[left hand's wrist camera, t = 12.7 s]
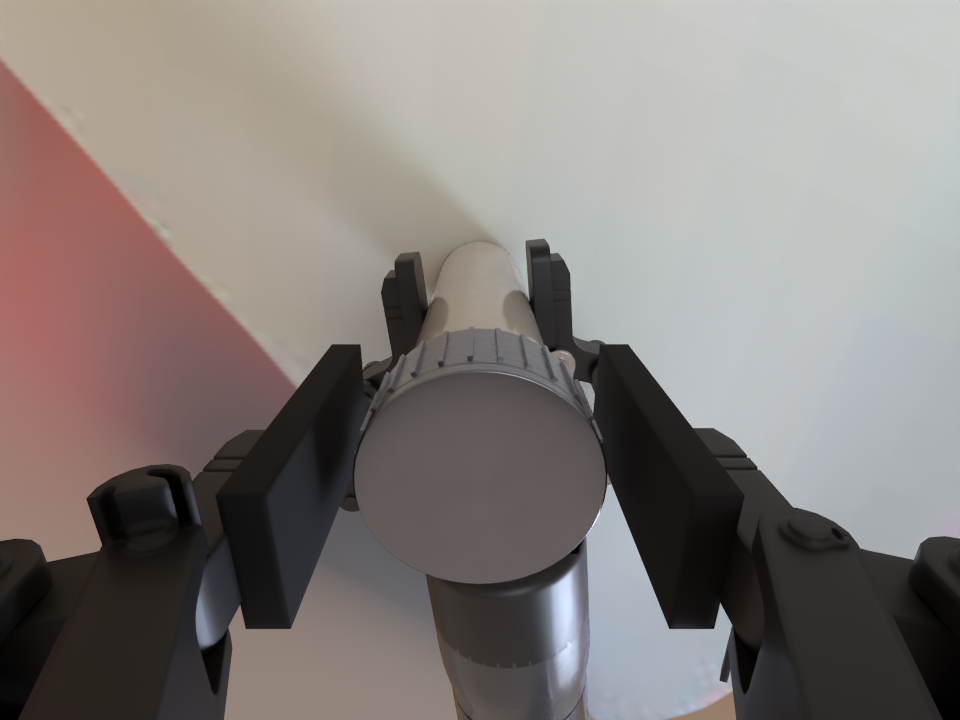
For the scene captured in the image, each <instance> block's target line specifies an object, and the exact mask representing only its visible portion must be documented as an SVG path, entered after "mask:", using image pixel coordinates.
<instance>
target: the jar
mask: <svg viewBox="0 0 960 720" xmlns="http://www.w3.org/2000/svg"><path fill="white" fill-rule="evenodd" d="M473 326H474V329H478V328H482V329H495V328H496V327H497V328H500V330H501V331H506V332H511V333H514V334H517V335H520V334H521V333H522V334H524V335H525V336H526V338H527V339H529V340H531V341H534V342H536V343H537V344H539V345H540V346H543V345H544V344H543V341H542V338H541V335H540V332H539V329H538V326H537V323H536V320H535V317H534V314H533V311H532V308H531V305H530V302H529V299H528V296H527V293H526V290H525V287H524V284H523V281H522V278H521V275H520V272H519V269H518V266H517V264H516V262H515V260H514V259H513V257H512V256H511V255H510V254H509V253H508V252H507V251H506V250H504V249H503V248H502V247H500V246H498V245H496V244H493V243H489V242H482V241H477V242H470V243H467V244H464V245H462V246H460V247H458V248H457V249H455V250H454V251H453V252H452V253H451V254H450V255H449V256H448V257H447V259H446V260H445V262H444V264H443V266H442V268H441V271H440V274H439V277H438V280H437V284H436V287H435V290H434V293H433V296H432V299H431V302H430V305H429V308H428V311H427V314H426V317H425V320H424V323H423V326H422V329H421V332H420V335H419V338H418V341H417V344H416V347H418V346H419V344H420V342H421V341H423V340H424V341H425V342H426V341H428V340H431V339H433V338H435V337H437V336H440V335H443V332H444V331H448V332H453V331H459V330H464V329H469V327H473ZM416 347H415V348H416Z"/></svg>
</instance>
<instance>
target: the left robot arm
mask: <svg viewBox="0 0 960 720" xmlns="http://www.w3.org/2000/svg"><path fill="white" fill-rule="evenodd" d="M366 415H367V412H366V401H365V390H364V380H363V369H362V358H361V347H360V344H332V345H331V346H330V348H329V349H328V350H327V352H326V353H325V354H324V356H323V357H322V358H321V359H320V361H319V362H318V363H317V365H316V366H315V367H314V368H313V370H312V371H311V372H310V374H309V375H308V376H307V377H306V379H305V380H304V381H303V383H302V384H301V385H300V386H299V388H298V389H297V390H296V392H295V393H294V394H293V396H292V397H291V398H290V399H289V401H288V402H287V403H286V405H285V406H284V407H283V408H282V410H281V411H280V412H279V414H278V415H277V416H276V417H275V419H274V420H273V421H272V423H271V424H270V425H269V427H268V428H267V429H266V430H246V431H244V432H243V433H241V434H240V435H238V436H236V437H234V438H233V439H231V440H230V441H228V442H226V444H225V445H224V446H223V447H222V448H221V449H220V450H219V451H218V453H217V454H216V455H215V456H214V459H213V460H211V461H210V462H209V463H208V464H207V465H206V466H205V467H204V469H203V472H200V473H199V474H198V475H197V477H196V478H195V479H194V480H193V481H192V480H191V475H190V472H189V471H187V470H186V469H185V468H183V467H181V466H176V465H170V464H163V465H150V466H146V467H142V468H138V469H134V470H130V471H128V472H125V473H123V474H120V475H118V476H116V477H113V478H111V479H110V480H108V481H106V482H105V483H103V484H102V485H100V486H99V487H97V488H96V489H95V490H94V491H93V492H92V493H91V494H90V495H89V496H88V497H87V502H88V505H89V508H90V511H91V514H92V516H93V519H94V522H95V525H96V528H97V531H98V534H99V537H100V539H101V543H102V547H101V549H100V551H98V552H94V553H89V554H85V555H80V556H75V557H71V558H66V559H61V560H56V561H51V562H47V561H46V559H45V556H44V554H43V551H42V549H41V546H40V545H38V544H37V543H35V542H34V541H32V540H26V539H12V540H5V541H0V720H224V713H225V705H226V696H227V688H228V679H229V671H230V663H231V655H232V643H231V636H230V633H229V628H228V626H229V624H230V622H231V620H232V619H233V617H234V615H235V613H236V611H237V609H238V607H239V605H241V609H242V614H243V618H244V622H245V627H246V629H291V627H292V624H293V622H294V619H295V617H296V614H297V612H298V609H299V606H300V604H301V601H302V599H303V596H304V594H305V591H306V589H307V586H308V584H309V581H310V579H311V576H312V574H313V571H314V569H315V566H316V564H317V561H318V559H319V556H320V554H321V551H322V549H323V546H324V544H325V541H326V539H327V536H328V534H329V531H330V529H331V526H332V524H333V521H334V519H335V516H336V514H337V511H338V509H339V506H340V504H341V501H342V499H343V496H344V494H345V491H346V489H347V486H348V484H349V481H350V478H351V476H352V473H353V465H354V453H355V451H356V449H357V446H358V444H359V441H360V439H361V437H362V435H360V434H359V431H360V428H361V426H362V424H363V421H364V419H365V417H366ZM593 415H594V417H595V421H596V424H597V426H598V428H599V431H600V433H601V435H602V438H603V441H604V443H601V444H602V447H603V451H604V454H605V458H606V465H607V473H608V476H609V479H610V481H611V484H612V486H613V489H614V491H615V494H616V496H617V499H618V501H619V504H620V506H621V509H622V511H623V514H624V516H625V519H626V521H627V524H628V526H629V529H630V531H631V534H632V536H633V539H634V541H635V544H636V546H637V549H638V551H639V554H640V556H641V559H642V561H643V564H644V566H645V569H646V571H647V574H648V576H649V579H650V581H651V584H652V586H653V589H654V591H655V594H656V596H657V599H658V601H659V604H660V607H661V609H662V612H663V614H664V617H665V619H666V622H667V624H668V627H669V629H714V627H715V622H716V618H717V614H718V610H719V605H720V603H721V605H722V606H723V608H724V610H725V612H726V614H727V616H728V618H729V620H730V621H731V623H732V628H731V632H730V636H729V640H728V645H727V649H726V653H725V657H724V661H723V665H722V669H721V675H720V681H722V682H726V683H727V681H728V677H729V673H730V671H731V678H732V686H733V695H734V703H735V711H736V720H960V539H958V538H952V537H946V536H943V537H931V538H928V539H926V540H925V541H923V542H922V543H921V544H920V546H919V549H918V551H917V554H916V556H915V559H914V560H911V559H906V558H901V557H896V556H892V555H887V554H882V553H877V552H872V551H867V550H864V549H860V548H859V546H858V544H857V543H856V541H855V540H854V539H853V538H852V536H851V535H850V534H849V532H847V531H846V530H844V529H843V528H842V527H840V526H839V525H838V524H836V523H835V522H833V521H831V520H829V519H827V518H825V517H823V516H821V515H819V514H816V513H813V512H810V511H806V510H803V509H799V508H793V507H792V506H791V505H790V503H789V502H788V501H787V500H786V499H785V498H784V497H783V496H782V494H781V493H780V492H779V491H778V490H777V489H776V488H775V487H774V485H773V484H772V483H771V482H770V481H769V480H768V479H767V477H766V476H765V475H764V474H763V473H762V472H761V471H760V470H758V469H757V466H756V465H755V464H754V463H753V462H752V461H751V459H750V458H747V455H746V454H745V453H744V451H743V450H742V449H741V448H740V447H739V446H738V445H737V444H736V442H735V441H734V440H732V439H730V438H729V437H727V436H725V435H724V434H722V433H720V432H719V431H717V430H715V429H714V428H692V427H691V425H690V424H689V423H688V421H687V420H686V419H685V417H684V416H683V415H682V414H681V412H680V411H679V410H678V408H677V407H676V406H675V405H674V403H673V402H672V401H671V399H670V398H669V397H668V396H667V394H666V393H665V392H664V390H663V389H662V388H661V387H660V385H659V384H658V383H657V381H656V380H655V379H654V377H653V376H652V375H651V374H650V372H649V371H648V370H647V368H646V367H645V366H644V365H643V363H642V362H641V361H640V359H639V358H638V357H637V356H636V354H635V353H634V352H633V350H632V349H631V348H630V346H629V345H628V344H600V347H599V358H598V369H597V379H596V390H595V401H594V412H593Z"/></svg>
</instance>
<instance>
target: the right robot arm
mask: <svg viewBox="0 0 960 720" xmlns="http://www.w3.org/2000/svg"><path fill="white" fill-rule="evenodd" d="M526 259H527V273H528V287H529V301H530V305H531V308H532V311H533V314H534V317H535V320H536V323H537V326H538V329H539V332H540V335H541V338H542V341H543V344H544V345H546V346H547V347H548V349H549V352H550V353H552V354H553V355H554V356H555V357H556V358H557V359H559V361H560V362H561V361H562V360H564V361H565V363H566V365H567V367H568V369H569V372H570V374H571V376H572V377H573V379H575V380H576V379H578V380H579V381H584V382H588V383H591V385H592V387H593V390H594V393H595V390H596V379H597V369H598V358H599V347H600V344H605V343H604V342H602V341H599V340H592V341H589V342H588V341H584V340H580V339H577V338H575V337H574V336H573V335H572V312H571V290H570V288H571V287H570V273H569V270H568V268H567V266H566V264H565V262H564V260H563V259H562V257H561V256H560V255H559V254H558V253H554V254H550V248H549V245H548V243H547V242H546V240H545V239H537V240H528V241H526ZM381 295H382V300H383V306H384V311H385V317H386V322H387V328H388V333H389V338H390V344H391V349H392V356H391V357H389V358H387V359H385V360H383V361H381V362H379V361H373V362H370V363H368V364H367V365H366V366H365V367H364V369H363V380H364V390H365V401H366V412H368V410H369V408H370V405H371V403H372V401H373V398H374V396H375V394H376V392H378V390H379V388H380V385H381V383H382V381H383V378H384V376H385V374H386V373H387V372H389V373H391V371H392V370H393V368H394V367H395V366H396V365H397V364H398V361H399V358H400V356H401V355H403V354H404V355H405V356H406V355H407V354H408V353H409V352H411V351H412V350H413V349H415V347H416V344H417V341H418V338H419V335H420V332H421V329H422V326H423V323H424V320H425V317H426V314H427V311H428V302H427V295H426V288H425V282H424V275H423V268H422V262H421V257H420V253H419V252H412V253H403V254H400V255H399V256H398V258H397V259H396V260H395V270H390V272H389V273H388V274H387V276H386V277H385V278H384V282H383V287H382V291H381ZM609 484H611V481H610V479H609V476H608V473H607V485H609ZM340 507H341V508H343V509H344V510H347V511H352V512H353V511H358V510H359V508H358V505H357V502H356V499H355V494H354V489H353V473H352V476H351V478H350V481H349V484H348V486H347V489H346V491H345V494H344V496H343V499H342V501H341V504H340ZM426 578H427V584H428V589H429V594H430V599H431V604H432V610H433V615H434V620H435V626H436V631H437V637H438V642H439V647H440V651H441V656H442V660H443V664H444V667H445V669H446V672H447V675H448V677H449V680H450V682H451V684H452V688H453V694H454V700H455V705H456V711H457V716H458V720H590V718H589V715H588V711H587V709H588V705H587V681H586V668H587V662H588V656H589V646H590V629H589V599H588V573H587V545H586V537H585V538H584V539H583V540H582V541H581V542H580V543H579V544H578V545H577V547H576V548H575V549H573V550H572V551H571V552H570V553H569V554H567V555H566V556H565V557H564V558H562V559H561V560H559V561H558V562H556V563H555V564H553V565H551V566H549V567H547V568H545V569H543V570H541V571H539V572H537V573H534V574H532V575H529V576H526V577H523V578H519V579H515V580H512V581H506V582H500V583H489V584H471V583H460V582H454V581H448V580H444V579H441V578H437V577H434V576H431V575H428V574H426Z"/></svg>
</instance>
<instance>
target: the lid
mask: <svg viewBox="0 0 960 720" xmlns="http://www.w3.org/2000/svg"><path fill="white" fill-rule="evenodd" d="M359 434H360V435H362V437H361V439H360V441H359V444H358V446H357V449H356V451H355V453H354V465H353V489H354V494H355V499H356V502H357V505H358V508H359V511H360V514H361V516H362V518H363V520H364V522H365V523H366V525H367V527H368V528H369V530H370V531H371V532H372V534H373V535H374V537H375V538H376V539H377V540H378V541H379V542H380V543H381V545H382V546H383V547H384V548H385V549H387V550H388V551H389V552H390V553H391V554H393V555H394V556H395V557H396V558H398V559H399V560H401V561H402V562H404V563H405V564H407V565H409V566H411V567H413V568H415V569H416V570H418V571H420V572H423V573H426V574H428V575H431V576H434V577H437V578H441V579H444V580H448V581H454V582H460V583H471V584H489V583H500V582H506V581H512V580H515V579H519V578H523V577H526V576H529V575H532V574H534V573H537V572H539V571H541V570H543V569H545V568H547V567H549V566H551V565H553V564H555V563H556V562H558V561H559V560H561V559H562V558H564V557H565V556H566V555H567V554H569V553H570V552H571V551H572V550H573V549H575V548H576V547H577V545H578V544H579V543H580V542H581V541H582V540H583V539H584V538H585V537H586V535H587V534H588V532H589V531H590V530H591V528H592V527H593V525H594V523H595V521H596V519H597V518H598V516H599V514H600V511H601V508H602V505H603V502H604V499H605V493H606V488H607V465H606V458H605V454H604V451H603V447H602V444H601V443H604V441H603V438H602V435H601V433H600V431H599V428H598V426H597V424H596V421H595V417H594V415H593V413H592V410H591V408H590V406H589V404H588V401H587V399H586V397H585V394H584V392H583V390H582V387H581V385H580V383H579V381H578V379H576V380H574V379H573V377H572V376H571V374H570V372H569V369H568V367H567V365H566V363H565V361H564V360H562V361H561V362H560V361H559V359H557V358H556V357H555V356H554V355H553V354H552V353H550V352H549V349H548V347H547V346H546V345H543V346H540V345H539V344H537V343H536V342H534V341H531V340H529V339H527V338H526V336H525V335H524V334H522V333H521V334H520V335H517V334H514V333H511V332H506V331H501V330H500V328H497V327H496V328H495V329H482V328H478V329H474V326H473V327H469V329H464V330H459V331H453V332H448V331H444V332H443V335H440V336H437V337H435V338H433V339H431V340H428V341H426V342H425V341H424V340H423V341H421V342H420V344H419V346H418V347H416V348H415V349H413V350H412V351H411V352H409V353H408V354H407V355H406V356H405V355H404V354H403V355H401V356H400V358H399V361H398V364H397V365H396V366H395V367H394V368H393V370H392V371H391V373H389V372H387V373H386V374H385V376H384V378H383V381H382V383H381V385H380V388H379V390H378V392H376V394H375V396H374V398H373V401H372V403H371V405H370V408H369V410H368V412H367V415H366V417H365V419H364V421H363V424H362V426H361V428H360V431H359Z"/></svg>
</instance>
